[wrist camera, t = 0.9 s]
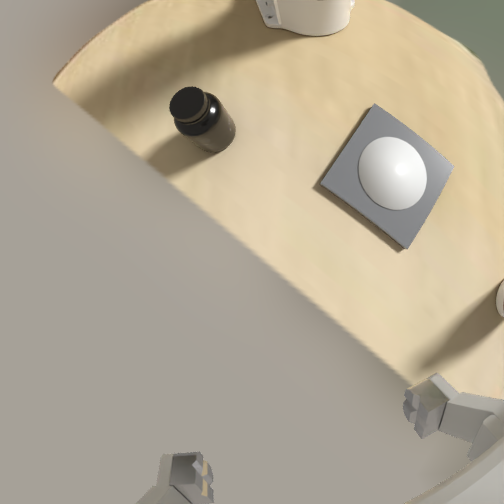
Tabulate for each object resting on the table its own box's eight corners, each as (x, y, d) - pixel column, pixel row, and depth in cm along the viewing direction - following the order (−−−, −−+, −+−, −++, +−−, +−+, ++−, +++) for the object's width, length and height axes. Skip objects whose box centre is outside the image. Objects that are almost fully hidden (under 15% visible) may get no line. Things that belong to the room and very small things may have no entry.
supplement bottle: (245, 127, 41) (225, 94, 30) (217, 161, 43) (187, 138, 31) (213, 106, 42) (186, 72, 30) (187, 138, 43) (151, 112, 31)
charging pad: (319, 184, 40) (320, 182, 39) (372, 106, 38) (374, 102, 36) (404, 248, 38) (407, 249, 37) (450, 167, 36) (454, 166, 35)
